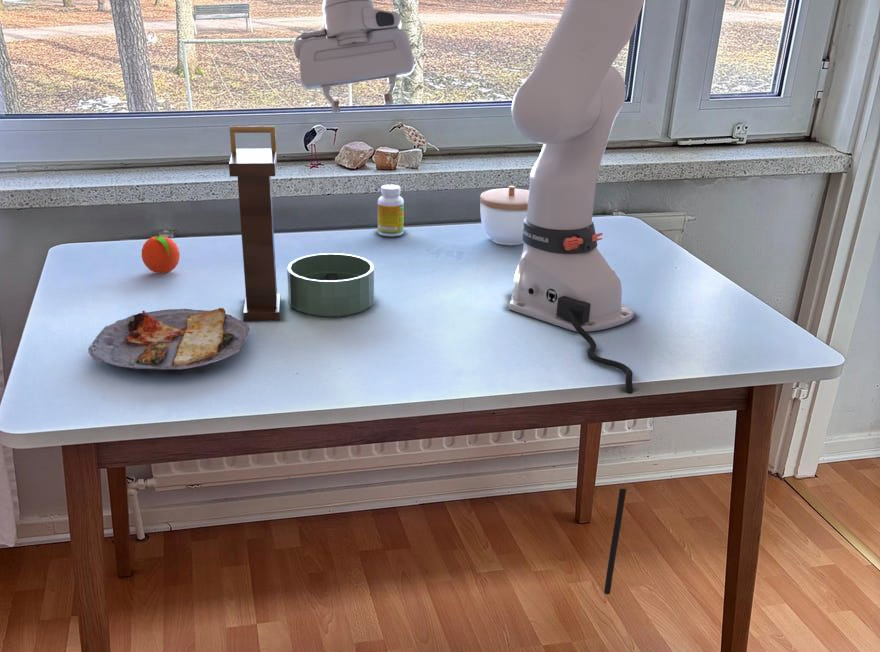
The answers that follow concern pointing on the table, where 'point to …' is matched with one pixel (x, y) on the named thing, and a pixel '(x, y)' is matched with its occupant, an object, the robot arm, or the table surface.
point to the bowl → (330, 284)
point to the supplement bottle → (390, 211)
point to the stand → (257, 224)
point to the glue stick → (331, 277)
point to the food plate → (170, 339)
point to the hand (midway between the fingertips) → (362, 108)
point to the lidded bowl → (504, 214)
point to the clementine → (160, 254)
